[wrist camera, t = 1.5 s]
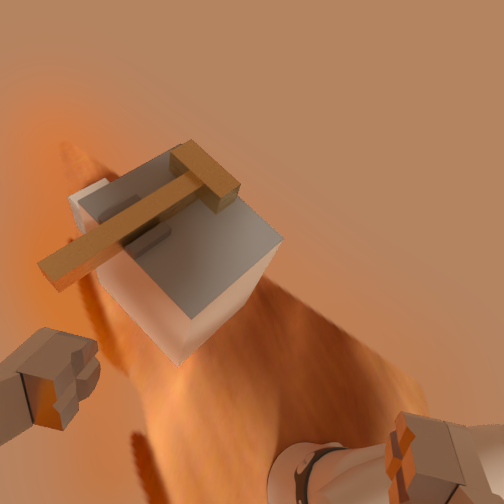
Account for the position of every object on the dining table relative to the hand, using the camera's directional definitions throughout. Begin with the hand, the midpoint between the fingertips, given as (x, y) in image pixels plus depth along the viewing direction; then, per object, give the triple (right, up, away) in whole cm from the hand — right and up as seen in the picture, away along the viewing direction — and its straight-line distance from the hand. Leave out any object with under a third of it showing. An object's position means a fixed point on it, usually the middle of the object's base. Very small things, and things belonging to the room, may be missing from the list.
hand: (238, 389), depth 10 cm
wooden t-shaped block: (-14, +7, +40) cm, 43 cm away
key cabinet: (-15, -5, +64) cm, 66 cm away
